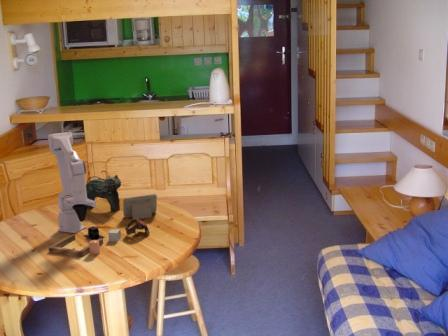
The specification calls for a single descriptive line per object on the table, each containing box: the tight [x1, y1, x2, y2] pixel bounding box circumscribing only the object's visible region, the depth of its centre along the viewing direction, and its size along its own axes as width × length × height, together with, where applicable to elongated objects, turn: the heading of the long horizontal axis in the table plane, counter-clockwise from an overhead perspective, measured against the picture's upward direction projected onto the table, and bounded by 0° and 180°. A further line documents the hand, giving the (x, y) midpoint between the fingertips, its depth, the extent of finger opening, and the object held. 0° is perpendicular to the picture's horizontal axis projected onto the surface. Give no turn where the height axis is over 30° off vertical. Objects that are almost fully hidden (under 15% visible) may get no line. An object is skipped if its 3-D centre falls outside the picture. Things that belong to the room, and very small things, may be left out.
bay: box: [48, 233, 104, 258], centre depth 231 cm, size 16×15×2 cm
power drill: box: [86, 170, 122, 212], centre depth 275 cm, size 20×6×20 cm, turn 69°
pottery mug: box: [124, 218, 150, 237], centre depth 243 cm, size 12×10×8 cm
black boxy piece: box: [82, 226, 106, 241], centre depth 242 cm, size 12×7×5 cm, turn 45°
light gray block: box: [107, 228, 122, 243], centre depth 238 cm, size 4×4×4 cm
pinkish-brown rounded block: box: [88, 240, 101, 256], centre depth 224 cm, size 4×4×5 cm
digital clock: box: [122, 193, 158, 220], centre depth 264 cm, size 16×9×11 cm, turn 99°
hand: (82, 220), depth 234 cm, fingers closed
